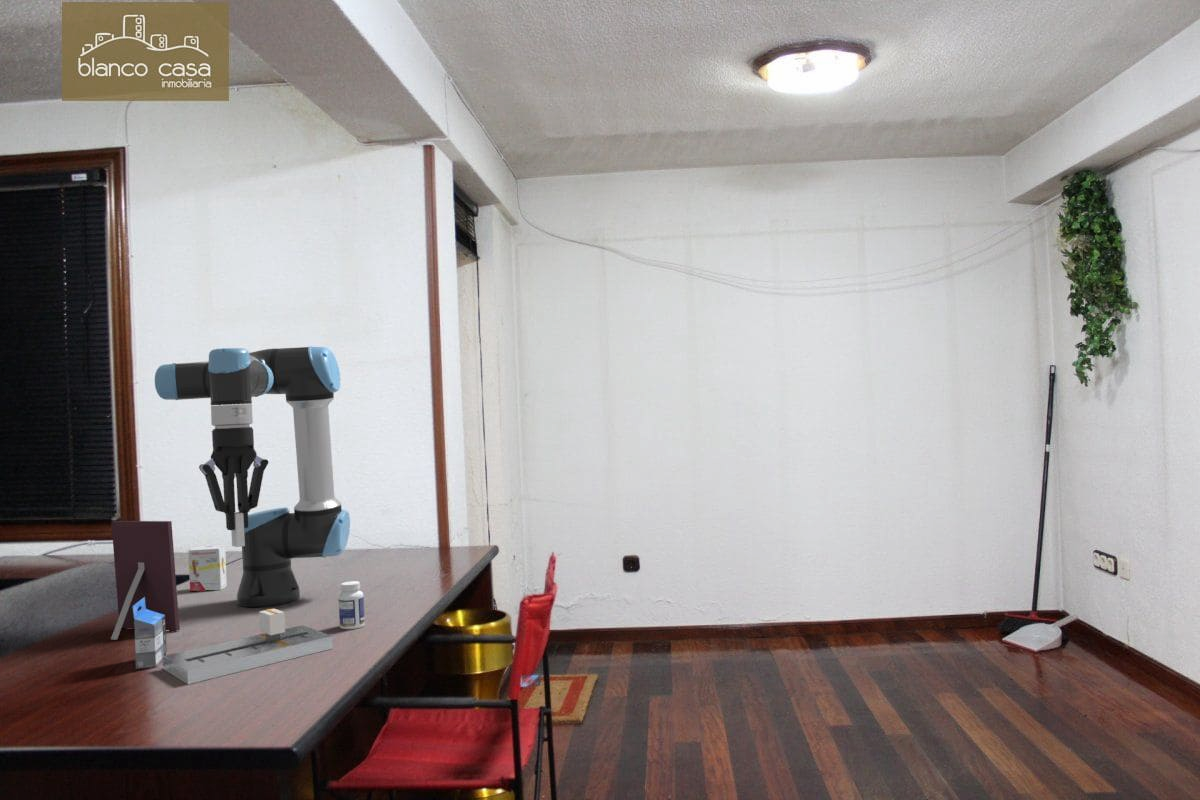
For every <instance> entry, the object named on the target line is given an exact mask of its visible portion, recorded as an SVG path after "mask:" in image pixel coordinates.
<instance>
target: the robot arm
mask: <svg viewBox="0 0 1200 800" xmlns="http://www.w3.org/2000/svg"><path fill="white" fill-rule="evenodd" d="M340 373H341V372H340V367H339V364H338V361H337V358H336V357H335V354H334V353H333V351H332V349H329V348H328V347H324V346H312V345H311V346H304V347H302V346H301V347H282V348H266V349H261V350H257V351H252V352H249V350H248V349H246V348H243V347H241V348H240V347H239V348H238V347H236V348H235V347H232V348H231V347H229V348H226V347H225V348H215V349H212V350H210V351H209V354H208V360H206V361H196V362H195V361H194V362H185V363H184V362H182V363H176V362H174V363H167V364H162V365H160V366H159V367H158V368H157V369H156V371H155V373H154V387H155V390H156V393H157V395H158V396H159V397H160V398H161V399H163V400H166V401H168V400H171V401H180V400H181V401H182V400H197V399H198V400H199V399H210V418H211V420H210V421H211V426H213V427H214V429H212V430H211V437H212V440H211V442H212V453H211V455H210V459H208V461H206V462H204V463H202V464H199V466H198V469H199V470H200V472H201V473H202V474H203V475H204V478H205V481H206V483H207V486H208V490H209V493H210V496H211V499H212V503H213V505H214V506H213V507H214V510H215V511H217V512H220V513H221V512H222V513H223V514H225V524H226V527H225V528H226V529H227V531H230V532H231V533H230V534H231V546H232V547H236V548H240V547H241V554H242V557H241V558H242V575H241V576H242V577H241V579H240V583H239V586H238V587H239V588H238V590H237V593H236V605H237V606H238V607H245V608H247V607H249V608H251V607H252V608H254V607H255V608H257V607H269V606H277V605H282V604H286V603H290V602H293V601H296V600H298V599H299V598H300V597H301V596H300V592H301V591H300V587H299V584H298V581H297V579H296V576H295V574H294V571H293V568H292V559H306V558H308V559H309V558H311V559H312V558H327V557H336V556H339V555H342V553H344V551H345V549H346V547H347V544H348V541H349V537H350V530H351V529H350V528H351V517H350V513H349V511H348V510H345V509H342V502H341V501H340V500H338V499H337V498H336V497H335V488H334V487H335V486H334V471H333V470H334V469H333V468H334V467H333V455H332V442H331V441H332V440H331V427H330V414H329V410H330V409H329V405H330V404H331V402H333V400H334V398H335V394H334V393H336V392H338V391H339V390H340V388H341V374H340ZM263 395H285V402H286V403H287V404H288V405H289V406H290V407H292V412H293V415H292V416H293V425H294V426H293V427H294V428H293V429H294V438H295V439H294V440H295V452H296V453H295V455H296V467H297V468H296V469H297V480H298V482H297V483H298V493H299V495H298V496H299V501H298V502H297V503H296V504H295V505H294V507H293V511H294V512H293V513H292V512H290V510H289V508H288V507H287V506H286V507H279V508H272V509H267V510H261V511H258V512H253V513H250V514H249V512H250V511H251V510H252V509H255V508H257V507H258V506H259V505H258V504H259V499H260V494H261V489H262V484H263V479H264V472H265V470H266V468H267V466H268V464H269V460H268V459H267V458H265V459H264V458H262V457H260V456H258V455H257V454H258V453H257V451H256V450H255V447H254V445H255V443H254V442H255V441H254V428H253V427H252V426H251V425H252V424H253V423H254V422H253V404H252V403H253V400H252V397H253V398H257V397H259V396H263ZM252 464H253V465H252ZM215 466H216V467H217V469H218V470H219V471H220V472H221V478H222V482H223V483H222V484H223V494H222V492H221V491H222V490H221V488H220V487H221V486H220V484H219V481H218V478H217V475H216V473H215V470H216V467H215ZM251 466H253V470H252V474H251V480H250V486H249V490H248V477H249V472H248V471H249V469H250V467H251ZM235 478H236V481H235ZM235 482H236V491H235ZM235 493H236V495H235ZM235 496H236V497H237V499H236V497H235ZM236 501H237V510H238V511H237V512H236Z"/></svg>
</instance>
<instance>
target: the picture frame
mask: <svg viewBox="0 0 1200 800" xmlns="http://www.w3.org/2000/svg"><path fill="white" fill-rule="evenodd" d="M172 522H173V521H172V520H114V521H113V520H112V521H111V522H110V523H111V535H112V547H113V548H112V549H113V561H114V572H115V585H116V586H115V587H116V597H117V598H116V600H117V610H118V617H117V618H118V619H117V621H116V623H115V627H114V629H113V632H112V634H111V637H110V640H112V641H113V640H114V641H115V640H118V639H119V635H120V632H121V631H122V629H121V628H134V615H133V608H132V606H133V605H135V604H136V603H137V602H139V601H140V600H141V599H143V598H144V597H145V606H146V609H148V610H151V611H153V612H157V613H160V614H163V615H165V626H166V630H169V631H177V630H180V616H179V615H180V614H179V605H178V604H179V602H178V589H177V588H178V587H177V577H176V576H177V575H176V564H175V563H176V562H175V552H174V551H175V550H174V537H173V525H172ZM139 610H141V607H140V606H139V608H138V611H139ZM177 632H178V631H177Z"/></svg>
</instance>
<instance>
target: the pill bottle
mask: <svg viewBox="0 0 1200 800" xmlns="http://www.w3.org/2000/svg"><path fill="white" fill-rule="evenodd" d="M340 588H341V591H342V592H340V593H339V595H338V599H337V600H338V616H339V618H338V619H339V626H340V629H342V630H354V629H355V630H356V629H359V628H362V627H364V626H365V624H366V623H365V622H366V618H365V598H364V592H363V591H362V590H360V589H361V582H360V581H357V580H352V581H345V582H342V583H341V584H340Z"/></svg>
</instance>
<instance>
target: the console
mask: <svg viewBox="0 0 1200 800" xmlns="http://www.w3.org/2000/svg"><path fill="white" fill-rule="evenodd" d="M333 638H334V637H333V635H330V634H328V633H325V632H322V631H319V630H316V629H313V628H311V627H309V626H306V625H303V624H300V625H296V626H292V627H286V628H285V632H283V633H280V640H278V641H275V642H270V643H266V633H260V634H257V635H251V636H247V637H242V638H238V639H234V640H229V641H224V642H221V643H216V644H210V645H207V646H202V647H198V648H193V649H188V650H184V651H180V652H179V651H178V652H175V653H172V654H171V653H170V654H167V655H165V656H163V660H162V669H163V671H165V672H167V673H169V674H170V675H172V676H173V677H175V678H177V679H179V680H180V681H182V682H184V683H185V684H187V685H191V684H194V683H200V682H203V681H208V680H211V679H215V678H220V677H223V676H227V675H232V674H235V673H239V672H240V673H241V672H244V671H248V670H252V669H255V668H260V667H263V666H267V665H272V664H275V663H276V664H277V663H281V662H284V661H287V660H291V659H295V658H300V657H305V656H308V655H313V654H317V653H319V652H320V653H321V652H324V651H329V650H333V649H334V639H333Z"/></svg>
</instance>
